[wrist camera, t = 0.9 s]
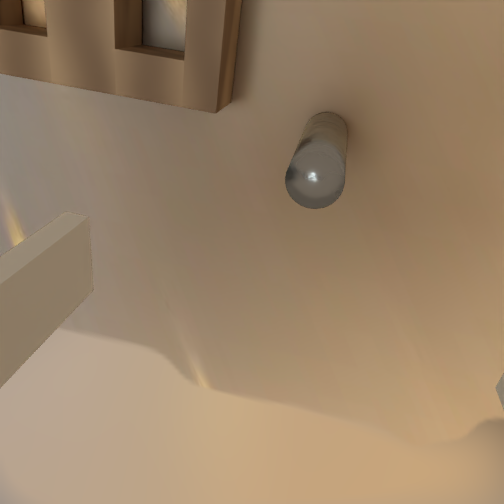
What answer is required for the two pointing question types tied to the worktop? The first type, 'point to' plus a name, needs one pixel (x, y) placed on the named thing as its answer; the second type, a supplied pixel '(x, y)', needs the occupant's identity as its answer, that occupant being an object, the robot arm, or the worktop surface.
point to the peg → (319, 162)
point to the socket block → (125, 51)
